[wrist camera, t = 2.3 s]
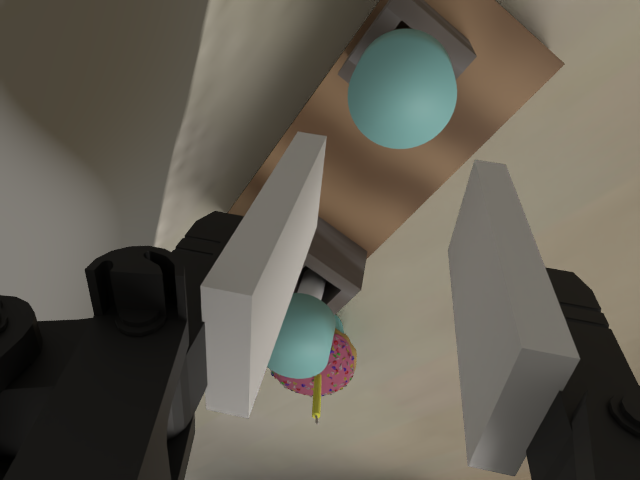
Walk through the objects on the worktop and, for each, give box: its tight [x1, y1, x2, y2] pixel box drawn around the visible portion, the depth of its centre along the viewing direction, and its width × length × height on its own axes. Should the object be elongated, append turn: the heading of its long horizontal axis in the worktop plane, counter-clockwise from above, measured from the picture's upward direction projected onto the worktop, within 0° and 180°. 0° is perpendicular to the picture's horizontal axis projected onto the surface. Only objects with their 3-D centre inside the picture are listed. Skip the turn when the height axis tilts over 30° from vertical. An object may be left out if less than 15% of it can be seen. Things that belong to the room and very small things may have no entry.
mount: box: [228, 0, 564, 315], centre depth 34 cm, size 26×11×9 cm, turn 144°
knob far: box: [267, 269, 336, 379], centre depth 33 cm, size 5×5×8 cm
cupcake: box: [271, 315, 357, 424], centre depth 44 cm, size 9×8×12 cm
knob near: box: [348, 29, 457, 149], centre depth 24 cm, size 5×5×8 cm
